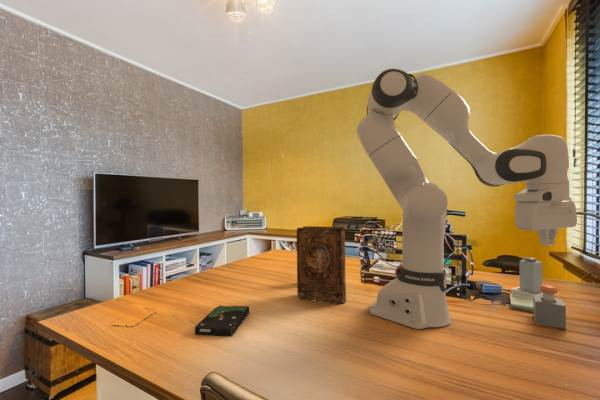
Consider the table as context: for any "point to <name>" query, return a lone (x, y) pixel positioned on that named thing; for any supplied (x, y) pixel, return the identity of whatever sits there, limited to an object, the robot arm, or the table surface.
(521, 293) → the socket collar
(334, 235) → the book
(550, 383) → the table surface
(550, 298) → the button
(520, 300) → the tray
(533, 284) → the cartridge
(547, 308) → the button post
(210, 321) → the disk drive
